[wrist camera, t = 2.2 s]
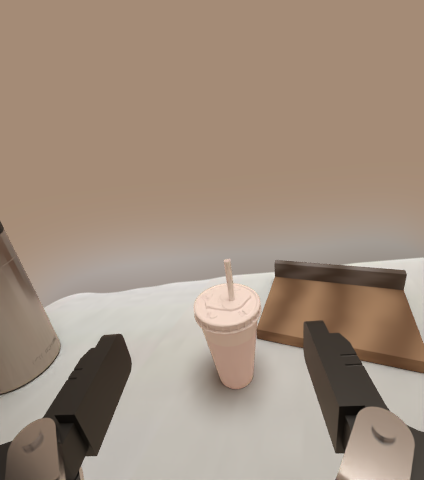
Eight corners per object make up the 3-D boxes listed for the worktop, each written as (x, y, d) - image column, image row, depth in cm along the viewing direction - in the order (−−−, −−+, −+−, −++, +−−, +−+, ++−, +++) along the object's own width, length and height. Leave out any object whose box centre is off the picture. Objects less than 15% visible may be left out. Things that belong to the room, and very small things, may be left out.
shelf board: (257, 338, 32) (255, 313, 31) (276, 280, 43) (276, 259, 41) (427, 373, 25) (436, 343, 24) (399, 293, 36) (404, 269, 35)
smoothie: (275, 394, 25) (268, 273, 20) (211, 408, 25) (186, 289, 19) (255, 344, 31) (246, 241, 26) (203, 356, 31) (183, 252, 25)
